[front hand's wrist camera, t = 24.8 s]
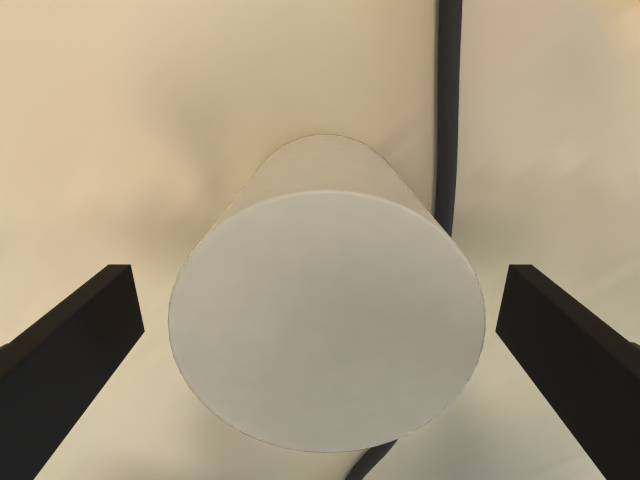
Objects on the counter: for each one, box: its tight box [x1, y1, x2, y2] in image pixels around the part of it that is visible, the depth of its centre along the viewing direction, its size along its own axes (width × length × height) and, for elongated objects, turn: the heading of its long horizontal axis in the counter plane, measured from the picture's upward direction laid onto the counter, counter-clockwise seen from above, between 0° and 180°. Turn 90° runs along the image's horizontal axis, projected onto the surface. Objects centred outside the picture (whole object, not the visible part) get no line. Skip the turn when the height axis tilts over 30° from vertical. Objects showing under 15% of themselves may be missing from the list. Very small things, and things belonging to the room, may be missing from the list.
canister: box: [168, 134, 485, 453], centre depth 15 cm, size 8×8×11 cm
